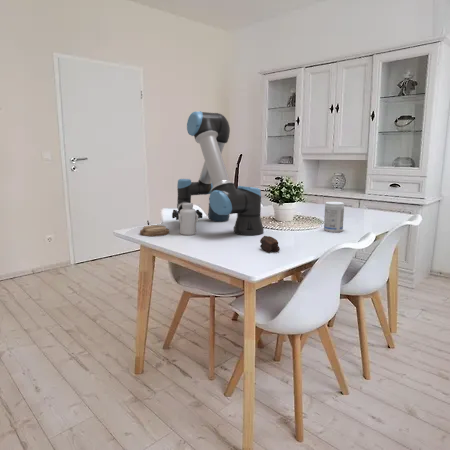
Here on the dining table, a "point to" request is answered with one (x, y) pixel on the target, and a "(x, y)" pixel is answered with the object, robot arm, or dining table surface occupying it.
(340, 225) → the supplement tub
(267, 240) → the brown notched block
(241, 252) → the dining table surface
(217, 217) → the canister
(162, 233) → the brown rope coil
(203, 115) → the robot arm
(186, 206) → the pill bottle
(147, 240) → the dining table surface
